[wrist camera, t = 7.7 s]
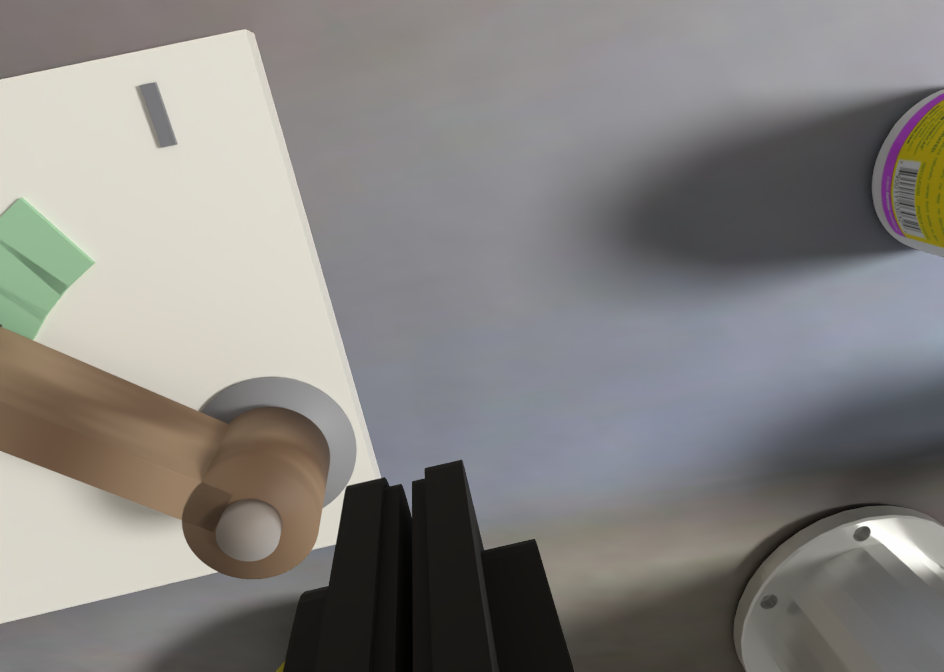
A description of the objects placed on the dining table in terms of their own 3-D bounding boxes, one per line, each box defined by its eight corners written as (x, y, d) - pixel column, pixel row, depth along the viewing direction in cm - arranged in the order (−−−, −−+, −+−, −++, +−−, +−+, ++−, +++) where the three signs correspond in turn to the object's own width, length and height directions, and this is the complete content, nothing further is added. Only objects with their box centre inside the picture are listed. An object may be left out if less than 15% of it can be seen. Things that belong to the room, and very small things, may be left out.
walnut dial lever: (349, 435, 26) (340, 508, 22) (300, 521, 28) (281, 608, 23) (-16, 273, 23) (-121, 318, 18) (-56, 378, 24) (-165, 447, 19)
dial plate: (390, 511, 30) (390, 534, 29) (12, 600, 30) (-10, 628, 28) (253, 33, 23) (244, 28, 22) (-247, 136, 23) (-295, 139, 21)
